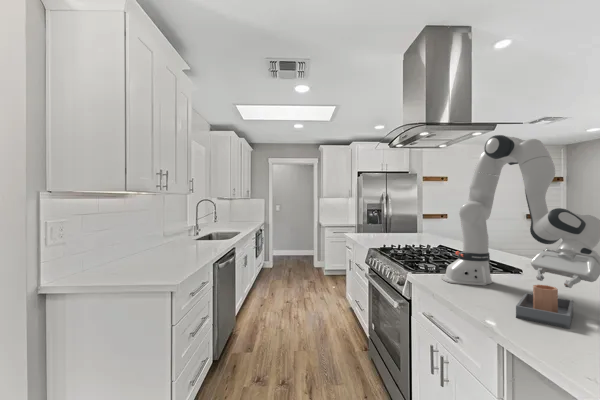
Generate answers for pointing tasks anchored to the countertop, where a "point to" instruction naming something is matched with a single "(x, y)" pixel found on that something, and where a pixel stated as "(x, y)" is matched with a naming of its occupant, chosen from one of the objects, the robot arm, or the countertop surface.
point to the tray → (545, 312)
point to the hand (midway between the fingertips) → (552, 282)
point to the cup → (545, 298)
